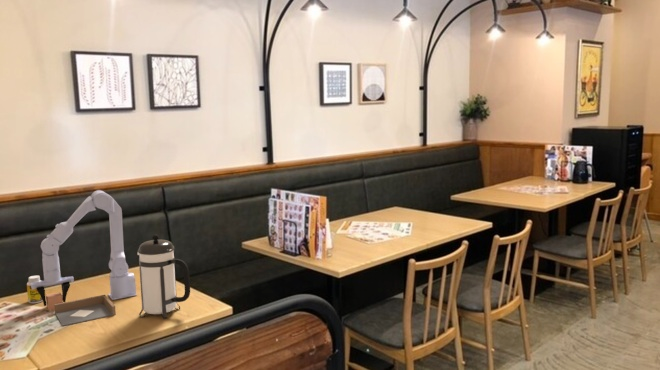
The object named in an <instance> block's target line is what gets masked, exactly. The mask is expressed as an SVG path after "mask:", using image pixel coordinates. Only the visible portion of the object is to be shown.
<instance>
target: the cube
mask: <svg viewBox="0 0 660 370" xmlns="http://www.w3.org/2000/svg"><path fill="white" fill-rule="evenodd" d="M45 299H46V308H47V310H48V311H49V310H50V311H55V306H54V304H59V303H64V302H63V299H62V293H61V292H53V293H47V294H45Z"/></svg>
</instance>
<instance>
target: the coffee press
mask: <svg viewBox="0 0 660 370" xmlns="http://www.w3.org/2000/svg"><path fill="white" fill-rule="evenodd" d="M151 238H152V239H151V240H147V241H144V242H143V243H141V244H140V245H139V246H138V247H139V248H138V249H137V256H139V258H138V263H139V280H140V295H141V297H140V298H141V310H140V312H139V313H138V315H139V317H140V318H144V317H145V315H147V314H148V315H162V317H161V318H162V320H166V319H168V313H169V312H172V311H173V310H174V309H175V310H177V308H176V307H177V306H178V308H179V310H180V309H181V306H180V305H179V304H178V303H182V302H185V301H186V300H188V299H189V297H190V295H191V282H190V281H191V278H190V275H191V274H190V270H189V266H188V265H187V262H186V261H184V260H182V259H179V258H175V254H174V252H175V245H173V243H172V242H171V241H169V240H166V239H159V238H160V236H159V235H158V234H156V233H155V234H153V235H152V237H151ZM176 265H179V266H180V267H181V268H182V271H183V278H184V279H183V280H184V281H183V284H184V295H182V296H177V284H176V279H177V278H176ZM143 311H144V313H143ZM142 313H143V314H142Z"/></svg>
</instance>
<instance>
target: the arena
mask: <svg viewBox="0 0 660 370" xmlns="http://www.w3.org/2000/svg"><path fill="white" fill-rule="evenodd" d="M54 306H55V310H54V314H55V315H57V316H56V317H57V319H58V321H59V322H60V324H61V326H62V327H66V326H70V325H71V326H72V325H75V324H81V323H84V322H89V321H94V320H97V319H98V320H99V319H103V318H107V317H111V316H116V315H117V314H116V305H115V304H114V302H112V301H111V300H110V298H109V297H108V296H107V295H106V294H101V295H95V296H91V297H86V298H81V299H76V300H70V301H66V302H63V303H59V304H54Z"/></svg>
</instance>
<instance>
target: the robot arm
mask: <svg viewBox="0 0 660 370" xmlns="http://www.w3.org/2000/svg"><path fill="white" fill-rule="evenodd" d="M96 208H97V209H100V210H103V211H104V212H106V213H107V214H108V217H109V221H108V222H109V235H110V259H109V261H108V269H110V270H111V271H110V273H109V288H110V293H108V294H107V295H108V297H109V299H111V300H112V301H115V300H120V299H124V298H129V297H130V298H131V297H134V296H137V295H138V294H137V289H136V288H137V287H136V286H137V285H136V278H135V274H134V272H129V265H128V263H127V261H126V255H125V251H124V250H125V248H124V230H123V228H124V227H123V212H122V211H123V209H122V207H121V206H120V205H119V204H118V202H117V201H116V200H115V198H114V197H112V196H111V195H110V194H108V193H107V192H106V191H104V190H102V189H97V190H95V191H93V192H92V193H91V194H90V195H89V196H88V197H86V198H85V200H84V201H83V202H82V203H81V204H80V205H79V206H78V207H77V208H76V209H75V211H74V212H73V213H72V214H71V215H70V216H69V218H68V219H67V220H66V221H63V222H60V223H56V224H55V228H54V229H53V230H52V231H51V232H50V234H47V235H46V238H44V239H43V240H42V241H41V244H40V249H41V251H42V254H41V255H42V256H41V257H42V259H41V261H42V271H43V280H41V281H39V282H35V283H31V288H32V289H35V288H36V289H37V291H38V292H39V294H40V296H41V298H42V300H43V301H42V303H43V306H44V307H45V306H46V307H47V303H46V289H45V287H51V286H57V285H61V292H62V293H61V295H62V299H63V303H64V302H67V300H66V299H67V295H68V293H69V292H68V291H69V289H70V287H71V283H74V282H75V279H74V276H73V275H72V276H65V277H62V275H61V266H60V257H59V251H60V246H61V245H63V244H64V243H65V242H66V240H68V238H69V237H70V236H71V235H72V234H73V232H74V227H75V225H77V224H78V223H79V222H80V221H81V219H83V217H85V216H86V214H88V213H89V212H94V211H97V209H96Z"/></svg>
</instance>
